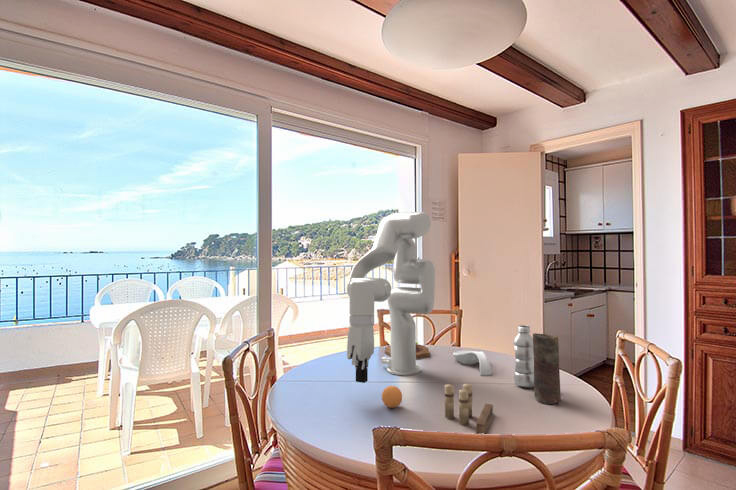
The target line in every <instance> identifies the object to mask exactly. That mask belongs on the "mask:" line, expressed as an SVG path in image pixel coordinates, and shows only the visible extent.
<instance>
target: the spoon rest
mask: <svg viewBox="0 0 736 490" xmlns="http://www.w3.org/2000/svg"><path fill="white" fill-rule="evenodd" d="M452 354H453V357H454V359H456V360H457V361H458V362H460V363H461V364H463V365H471V366H472V365H476V364H477V363H479V376H481V377H482V376H492V375H493V371H492V367H491V363H490V361H489V359H488V358H487V355H486V354H485V353H484V351H482V350H481V351H475V350H459V351H455V352H453V353H452Z"/></svg>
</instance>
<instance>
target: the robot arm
mask: <svg viewBox="0 0 736 490" xmlns="http://www.w3.org/2000/svg"><path fill="white" fill-rule="evenodd" d="M431 224H432V223H431V217H430V215H429V213H427V212H425V211H410V212H405V211H404V212H396V213H391V214H389V215H386V216H384V217H383V218H382V219H381V220H380V222H379V225H378V229H377V232H376V236H375V238H374V240H373V241H374V242H373V245H372V247H371V250H369V251H368V252H367V253H365V254H364V255H363V256H362V257H361V258H360V259H359V260H358V261H357V262H355V264H354V265H353V267H352V270H351V272H350V275H349V277H348V281H347V287H346V292H347V293H346V294H347V296H348V297H349V324H348V325H349V327H348V332H347V344H346V359H347V360H351V366H354V369H355V382H356V383H363V384H365V383H366V382H368V368H369V360H370V359H371V357H372V356H373V355H374V353H375V333H374V330H375V329H374V326H375V302H378V303H381V302H385V301H387V305H388V311H389V316H390V317H389V319H390V323H389V324H390V345H391V357H388V356H387V357H386V356H382V357H381V361H380V362H381V363H382V364H384V365H387V367H386V371H387V372H388V373H389V374H393V375H397V376H413V375H417V374H419V373H420V372H421V367H420V366H419V365H417V359H416V343H417V341H416V340H417V338H416V336H417V334H416V333H417V331H416V329H417V327H416V322H415V320H414V317H413V316H412V315H411V314H421V315H423V314H424V315H427V314H430V313H432V311H433V310H434V305H435V293H436V291H435V290H436V269H435V265H434V262H432V261H433V260H430V259H427V258H426V259H425V258H417V256H418V254H417V253H418V247H417V244H416V243H415V241H414V239H415V240H416V239H418V238H421V237H423V236H425V235H427V233H428V232H429V231H430V229H431ZM392 261H393V279H394V281H395V282H396V283H398V284H403V285H404V284H406V285H407V284H409V285H420V287H409V286H406V287H405V286H404V287H403V286H398V287H394V288H392V285H391V282H390V281H389V280H387V279H386V278H382V277H366V276H367V275H368V274H369V273H370V272H372V271H373V270H375V269H378V268H379V267H382V266H384V265H386V264H389V263H390V262H392Z"/></svg>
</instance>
